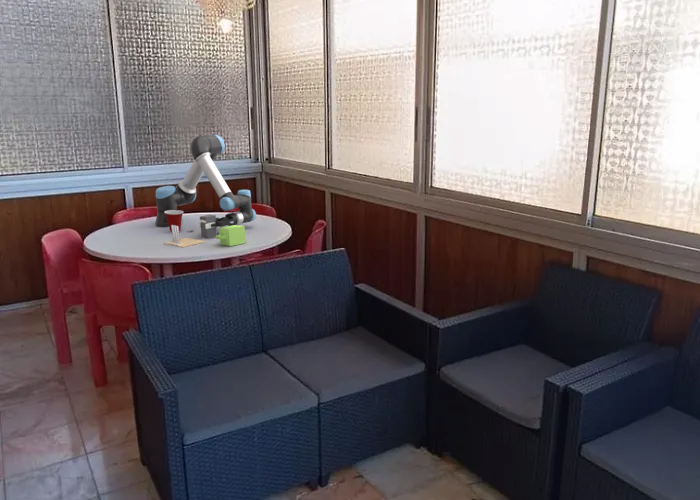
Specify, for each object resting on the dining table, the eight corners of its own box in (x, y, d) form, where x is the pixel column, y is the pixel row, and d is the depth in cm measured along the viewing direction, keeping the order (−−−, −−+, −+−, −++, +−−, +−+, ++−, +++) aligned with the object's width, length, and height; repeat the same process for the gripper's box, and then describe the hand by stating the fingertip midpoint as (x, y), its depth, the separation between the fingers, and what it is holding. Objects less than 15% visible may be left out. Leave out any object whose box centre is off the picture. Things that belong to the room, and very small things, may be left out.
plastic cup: (179, 233, 340) (178, 213, 337) (162, 233, 342) (160, 212, 340) (188, 229, 351) (186, 209, 348) (171, 229, 353) (169, 209, 350)
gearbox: (240, 240, 324) (239, 223, 322) (252, 241, 318) (250, 224, 316) (213, 245, 311) (212, 227, 309) (225, 247, 304) (224, 229, 302)
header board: (163, 243, 316) (162, 224, 313) (186, 238, 327) (184, 220, 325) (183, 247, 307) (181, 228, 304) (205, 241, 318) (204, 223, 316)
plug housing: (201, 237, 329) (199, 216, 326) (211, 235, 334) (209, 214, 332) (207, 238, 326) (205, 217, 323) (217, 236, 332) (215, 215, 329)
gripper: (245, 226, 339) (213, 234, 321) (223, 223, 349) (192, 230, 331) (244, 214, 337) (212, 220, 319) (222, 211, 348) (191, 217, 329)
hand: (202, 225), depth 325 cm, fingers closed on plug housing, 5 cm apart
